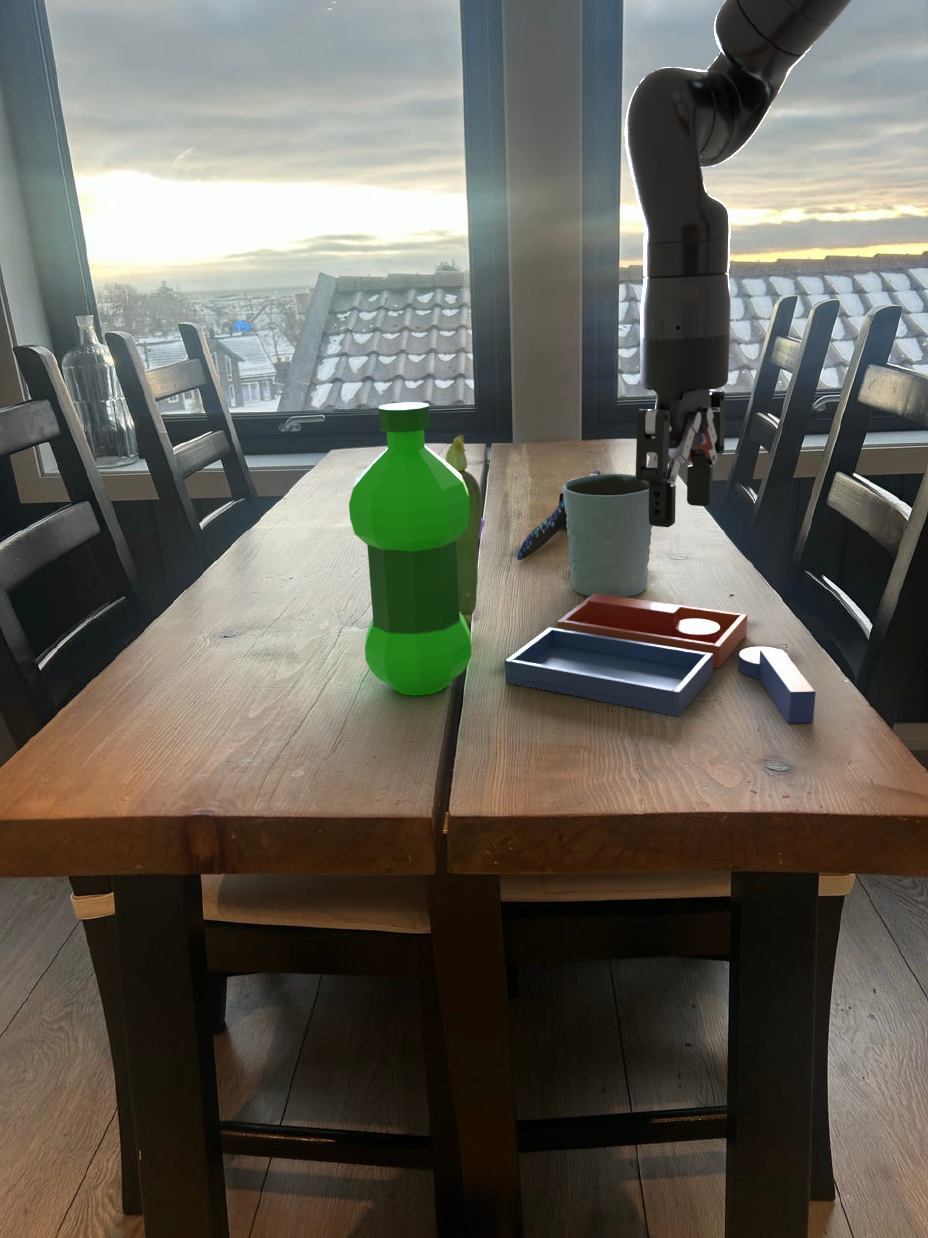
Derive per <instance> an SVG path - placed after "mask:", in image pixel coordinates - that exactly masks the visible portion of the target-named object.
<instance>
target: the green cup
mask: <svg viewBox="0 0 928 1238" xmlns="http://www.w3.org/2000/svg"><path fill="white" fill-rule="evenodd" d="M589 475H590V474H589ZM589 475H586V476H585V475H584V476H579V477H576V478H572V479H570V480H567V481H566V482H564V484H563V486H562V493H563V495H564V504H565V511H566V514H567V518H566V521H567V526H566V530H567V538H568V541H567V544H568V555H569V567H570V580H571V587H572V589H573V590H574V592H576V593H577V594H580V595H583V596H586V597H588V598H589V597H590V596H592V595H593V594H594V593H596V594H603V595H610V596H617V597H625V598H631V597H634V596H638V595H639V594H642V593H643V592H645V590H646V589H647V585H648V578H649V577H648V576H649V568H648V566H649V562H650V554H651V549H650V547H651V543H652V542H651V540H652V529H653V526H652V525H651V524H650V523H649V484H648V483H646V482H645V481H642V480H637V479H636V474H635V475H634V474H625V473H602V474H601V473H600V475H590V476H589Z"/></svg>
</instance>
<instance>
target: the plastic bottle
mask: <svg viewBox="0 0 928 1238" xmlns="http://www.w3.org/2000/svg"><path fill="white" fill-rule="evenodd" d="M378 419H379V431H381V432H386V443H387V444H386V445H387V447H386V448H385V449H384V450H383V451H382V452H381V453H380V454H379V455H378V456H377V457H376V458H375V459H374V460H373V461H372V462H371V463H370V464H369V465H368V466H367V467H366V468H365V469H364V470H363V471H362V472H361V473H360V475H358V477H357V478H356V479H355V480H354V484H353V488H352V491H351V494H350V499H349V502H348V509H349V510H348V511H349V519H350V520H349V521H350V523H351V526H352V530H353V533H354V535H355V536H357V537H358V538H359V539H360V540H361V541H362V542H363V543H364V544H366V546H367V556H368V557H367V559H368V570H369V584H370V585H369V586H370V596H371V597H370V598H371V611H372V618H371V621H370V623H369V625H368V629H367V632H366V637H365V643H364V655H365V658H364V659H365V662H366V664H367V665H368V667H369V669H370V672H371V673H373V674H374V675H375V676H376V678H378V679H379V680H381V681H383V682H384V683H385V684H387V685H389V686H390V687H392V690H394V691H396V692H398V693H400V694H401V693H402V694H401V695H405V696H416V695H420V696H419V697H422V696H421V695H423V696H427V695H426V694H428V695H432V694H438V693H440V692H441V691H443V690H444V689H443V688H445V687H446V688H448V687H449V686H448V685H449V684H450V683H451V682H453V681H455V680H456V679H457V677H459V676H460V675H462V673H463V672H464V671H465V670H466V669H467V667H468V665H469V663H470V660H471V657H472V639H471V632H470V631H471V630H470V628H469V625H468V624H467V623H466V621H465V619H464V617H463V616H462V614H461V613H460V611H459V594H458V572H457V550H456V540H457V539H458V538H459V537H460V536H461V535H462V533H463V532H464V531H465V530H466V529H467V526H468V520H469V514H470V509H469V495H468V490H467V487H466V485H465V482H464V480H463V477H462V475H461V474H460V473H459V472H457V471H456V470H455V469H454V468H453V467H452V466H451V465H449V464H448V463H447V462H446V459H444V458H442V457H441V456H440V455H438V454H437V453H436V452H435V451H434V450H432V449H430V448H429V447H428V446H426V445H425V444H426V443H425V430H428V429H430V428H431V424H430V404H429V403H426V402H421V401H419V402H418V401H403V402H394V403H387V404H381V405H379V406H378ZM447 686H448V687H447ZM446 688H445V689H446ZM442 689H443V690H442ZM439 691H440V692H439ZM437 692H438V693H437Z"/></svg>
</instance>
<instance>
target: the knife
mask: <svg viewBox="0 0 928 1238" xmlns="http://www.w3.org/2000/svg"><path fill="white" fill-rule="evenodd" d="M600 474H601V472H600V470H593V471H592V472H591V473H590V474H589V475H588V476H590V475H600ZM566 518H567V514H566V511H565V504H564V495H563V492H561V493H559V497H558V506H557V507H556V509H555V510H554V511H553V512H552V514H550V515H549V516H548V517H547V518H546V519H545V520H544V521H542V522H541V523H540V524H539V525H537V526H536V527H535V528H534V529H533V530H531V532H530V533H529V534H528V535H527V537H526V538H525V540H524V542H523V543H522V545H521V547H520V549H519V552H518V554H517V556H516V559H517V561H521V560H525V559H527V558H528V557H529V556H531V555H533V553H535V552H537V551H538V550H539V549H541V547H543V546H545V544H546V543H548V542H549V541H550V540H551V539H552V537H554V536H555V535H556V534H557V533H558V532H559V531H560V530H561V529H562V528H563V527H567V521H566Z"/></svg>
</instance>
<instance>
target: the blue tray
mask: <svg viewBox="0 0 928 1238" xmlns="http://www.w3.org/2000/svg"><path fill="white" fill-rule="evenodd" d="M713 669H714V668H713V654H712V653H706V652H699V651H693V650H687V649H681V648H675V647H668V646H662V645H656V644H650V643H644V642H637V641H631V640H625V639H619V638H612V637H606V636H600V635H594V634H588V633H581V632H575V631H569V630H563V629H558V628H556V627H548V628H546V629H545V630H544V631H542V632H541V633H540V634H538V635H537V636H536V637H534V638H533V639H532V640H530V641H529V642H528V643H526V644H525V645H523V646H522V647H521V648H520V649H519V650H517V651H515V652H514V653H513V654H511V655H510V656H509V657H508V658H506V659H505V660H504V677H505V678H504V680H505V684H509V683H513V684H512V685H514V684H517V685H516V686H519V685H522V686H521V687H524V686H529V687H534V688H533V689H535V688H539V689H538V690H540V689H544V690H543V691H545V690H549V691H548V692H550V691H554V692H553V693H555V692H559V693H558V694H560V693H565V694H570V695H573V696H572V697H576V696H579V697H578V698H581V697H584V698H583V699H586V698H588V699H587V700H591V699H593V700H592V701H596V700H597V702H602V703H606V704H613V705H618V706H621V707H627V708H631V709H632V708H633V709H637V710H643V711H647V712H648V711H649V712H653V713H656V714H657V713H658V714H662V715H668V716H673V717H680V715H681V714H682V713H683V712H684V711H685V709H687V707H688V705H689V704H690V703H691V702H692V701H693V700H694V699H695V697H696V696H697V695H698V694H699V693H700V691H702V689H703V688H704V687H705V686H706V684H707V683H708V682H709V681H710V680H711V678H712V677H713V672H714V671H713ZM518 684H519V685H518ZM529 687H528V688H529ZM565 694H564V695H565ZM570 695H569V696H570Z"/></svg>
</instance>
